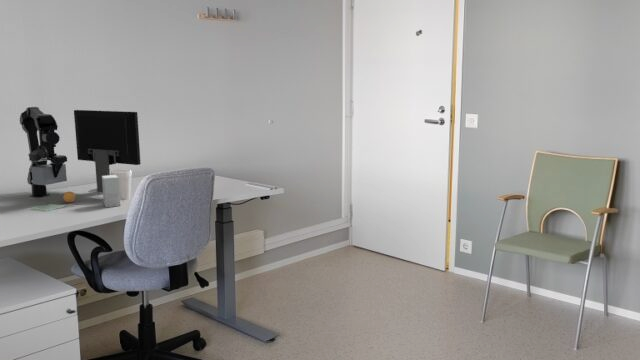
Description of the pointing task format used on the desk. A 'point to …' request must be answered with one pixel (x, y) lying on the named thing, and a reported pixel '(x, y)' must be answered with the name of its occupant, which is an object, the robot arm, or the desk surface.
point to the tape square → (47, 207)
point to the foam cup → (123, 182)
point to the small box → (111, 190)
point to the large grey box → (47, 175)
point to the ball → (69, 196)
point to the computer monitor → (107, 140)
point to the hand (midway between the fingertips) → (49, 176)
